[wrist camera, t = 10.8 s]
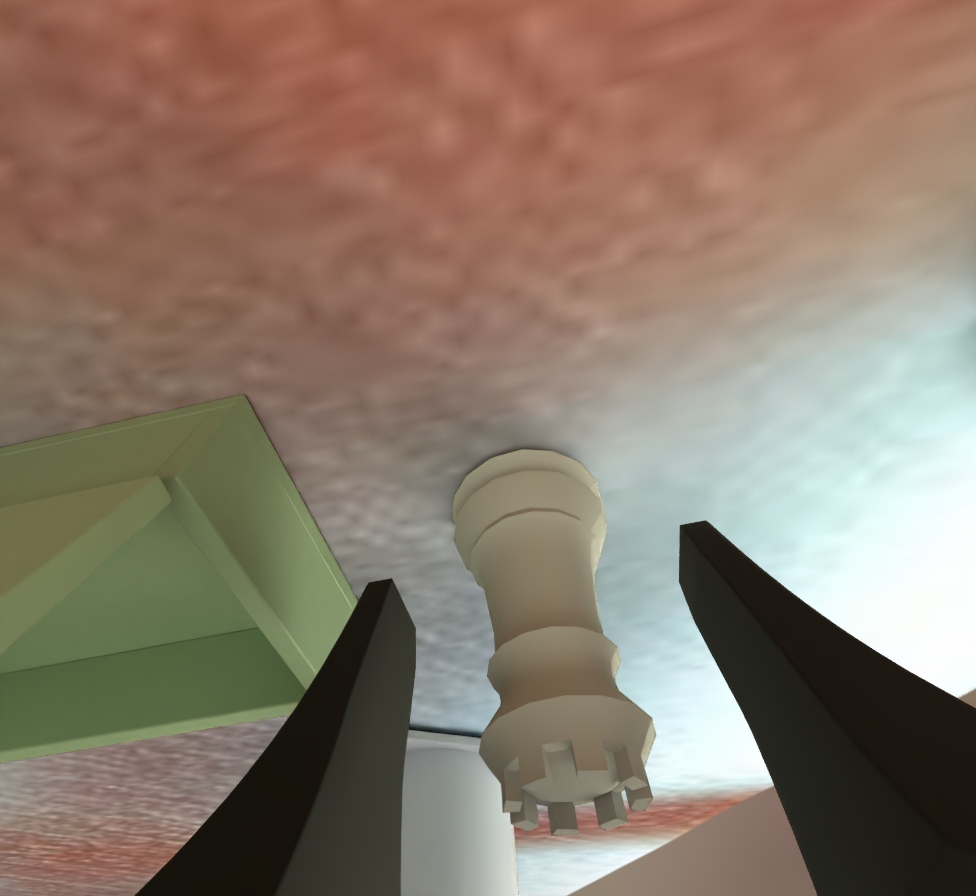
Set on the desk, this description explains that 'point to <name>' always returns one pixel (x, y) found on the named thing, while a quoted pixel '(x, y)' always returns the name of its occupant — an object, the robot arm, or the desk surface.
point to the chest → (173, 589)
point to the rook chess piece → (550, 643)
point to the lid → (65, 545)
